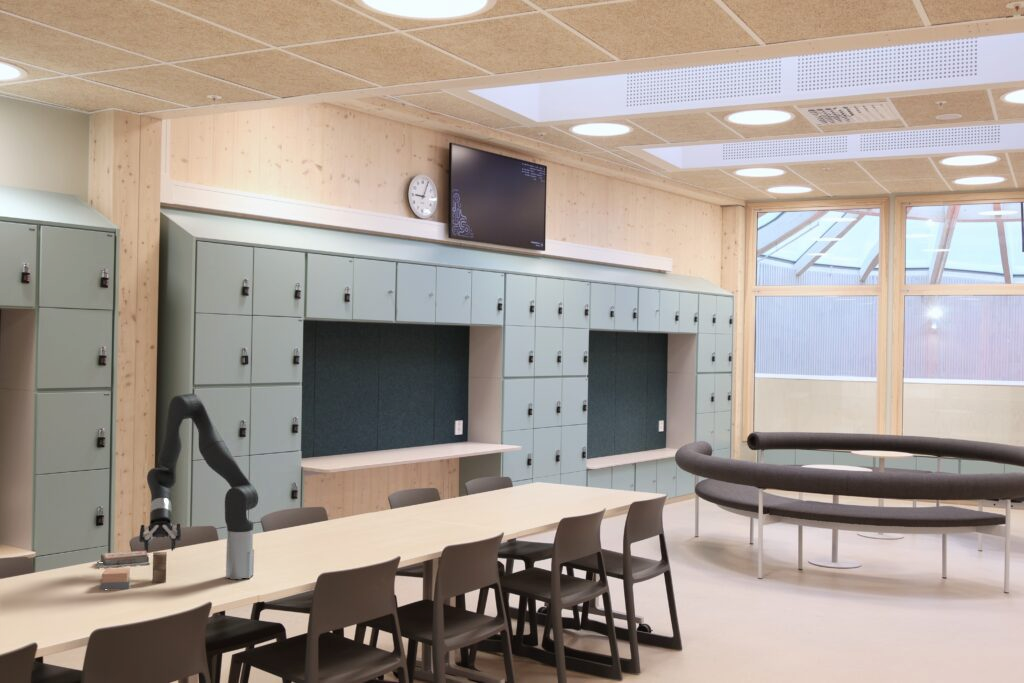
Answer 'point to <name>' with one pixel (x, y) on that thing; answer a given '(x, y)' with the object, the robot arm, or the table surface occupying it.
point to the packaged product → (123, 559)
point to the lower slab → (115, 585)
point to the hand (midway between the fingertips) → (159, 549)
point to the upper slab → (116, 575)
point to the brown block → (159, 567)
